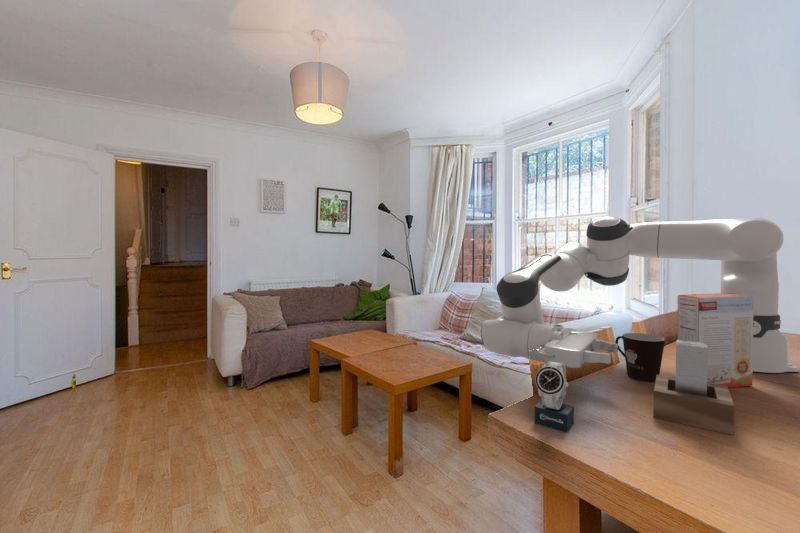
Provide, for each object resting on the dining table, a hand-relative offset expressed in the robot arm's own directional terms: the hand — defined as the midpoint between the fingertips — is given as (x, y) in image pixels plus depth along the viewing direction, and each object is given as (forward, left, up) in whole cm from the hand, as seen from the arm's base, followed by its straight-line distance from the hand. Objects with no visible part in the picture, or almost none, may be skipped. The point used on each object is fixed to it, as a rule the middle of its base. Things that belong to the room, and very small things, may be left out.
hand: (614, 353), depth 75 cm
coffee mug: (-20, +3, -10) cm, 22 cm away
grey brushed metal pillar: (0, +12, -9) cm, 15 cm away
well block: (0, +13, -10) cm, 16 cm away
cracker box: (-23, +17, -10) cm, 30 cm away
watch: (+19, -7, -10) cm, 23 cm away
